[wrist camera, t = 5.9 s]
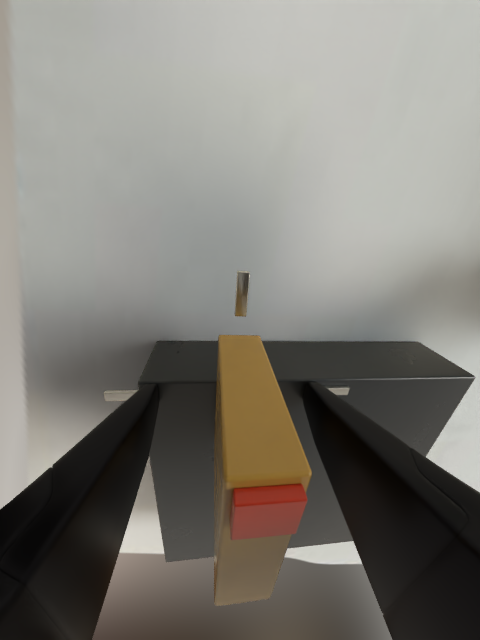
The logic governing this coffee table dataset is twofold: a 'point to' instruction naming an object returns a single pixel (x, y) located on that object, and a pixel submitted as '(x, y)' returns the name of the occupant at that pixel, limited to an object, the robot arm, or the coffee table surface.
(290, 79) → the coffee table surface
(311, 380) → the panel
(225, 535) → the tap handle
